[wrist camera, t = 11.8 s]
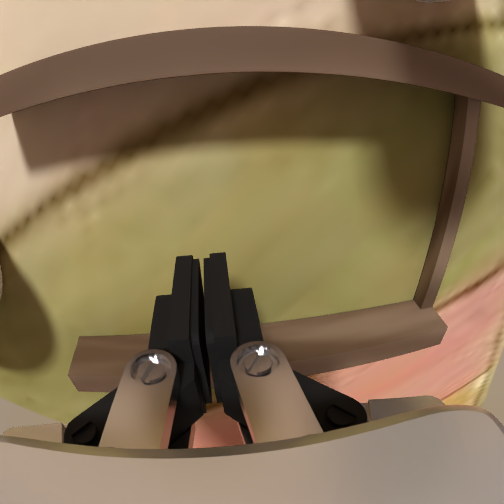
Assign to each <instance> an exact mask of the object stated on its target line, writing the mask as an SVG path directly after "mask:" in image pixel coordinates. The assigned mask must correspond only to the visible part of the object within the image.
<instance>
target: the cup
mask: <svg viewBox="0 0 504 504" xmlns="http://www.w3.org/2000/svg"><path fill="white" fill-rule="evenodd" d="M415 1H420V2H428V3H433V2H442V1H451V0H415Z"/></svg>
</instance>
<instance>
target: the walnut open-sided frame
mask: <svg viewBox="0 0 504 504" xmlns="http://www.w3.org/2000/svg"><path fill="white" fill-rule="evenodd" d="M235 72H299V73H319V74H333V75H345V76H355V77H363V78H372V79H379V80H386V81H393V82H399V83H405V84H411V85H416V86H421V87H426V88H431V89H436V90H440V91H445V92H449V93H453V94H456V97H455V109H454V119H453V128H452V136H451V143H450V150H449V157H448V163H447V169H446V175H445V181H444V186H443V191H442V196H441V201H440V205H439V210H438V214H437V219H436V223H435V227H434V231H433V235H432V239H431V243H430V247H429V250H428V254H427V258H426V261H425V265H424V268H423V271H422V275H421V278H420V281H419V284H418V288H417V291H416V294H415V297H414V300H411V301H405V302H400V303H395V304H390V305H384V306H379V307H373V308H367V309H362V310H356V311H350V312H344V313H337V314H331V315H324V316H317V317H311V318H303V319H296V320H289V321H281V322H273V323H265V324H260V327H261V331H262V336H263V340H264V341H265V342H269V343H272V344H274V345H276V346H277V347H278V348H280V349H281V351H282V352H283V353H284V355H285V357H286V359H287V361H288V363H289V365H290V367H291V369H292V370H294V371H296V372H298V373H300V374H302V375H304V376H308V375H314V374H319V373H324V372H330V371H335V370H340V369H344V368H349V367H354V366H358V365H363V364H367V363H371V362H376V361H380V360H384V359H388V358H392V357H396V356H399V355H403V354H407V353H411V352H414V351H418V350H421V349H425V348H428V347H431V346H435V345H438V344H440V343H441V341H442V338H443V336H444V334H445V332H446V330H447V328H448V327H447V325H446V324H445V323H444V321H443V320H442V319H441V317H440V316H439V315H438V313H437V312H436V311H435V310H434V308H433V304H434V301H435V299H436V296H437V293H438V290H439V288H440V285H441V282H442V279H443V276H444V273H445V270H446V267H447V264H448V261H449V258H450V254H451V251H452V248H453V245H454V241H455V238H456V234H457V230H458V227H459V223H460V219H461V215H462V211H463V207H464V203H465V198H466V194H467V189H468V185H469V180H470V175H471V169H472V164H473V158H474V152H475V146H476V139H477V132H478V124H479V115H480V105H481V101H484V102H487V103H491V104H494V105H497V106H500V107H504V76H503V75H500V74H498V73H495V72H493V71H490V70H488V69H485V68H483V67H480V66H477V65H475V64H472V63H469V62H466V61H463V60H460V59H457V58H454V57H451V56H448V55H444V54H441V53H438V52H434V51H431V50H427V49H423V48H420V47H416V46H412V45H407V44H403V43H399V42H394V41H390V40H385V39H380V38H374V37H369V36H363V35H357V34H350V33H343V32H335V31H327V30H317V29H306V28H291V27H267V26H235V27H210V28H196V29H185V30H175V31H167V32H159V33H152V34H145V35H139V36H133V37H128V38H122V39H117V40H112V41H108V42H103V43H99V44H94V45H90V46H86V47H82V48H79V49H75V50H71V51H68V52H64V53H61V54H58V55H54V56H51V57H48V58H45V59H42V60H39V61H36V62H33V63H30V64H28V65H25V66H22V67H19V68H17V69H14V70H12V71H9V72H7V73H4V74H2V75H0V117H2V116H4V115H7V114H10V113H13V112H16V111H19V110H22V109H25V108H28V107H32V106H35V105H38V104H41V103H45V102H48V101H52V100H56V99H59V98H63V97H67V96H71V95H75V94H79V93H83V92H88V91H92V90H97V89H102V88H107V87H112V86H117V85H122V84H128V83H134V82H141V81H147V80H154V79H162V78H170V77H179V76H189V75H201V74H215V73H235ZM149 339H150V334H138V335H117V336H87V337H79V340H78V343H77V346H76V349H75V353H74V356H73V359H72V363H71V366H70V369H69V373H68V376H69V378H70V379H71V381H72V382H73V384H74V385H75V387H76V389H77V390H78V391H85V392H111V391H113V390H114V389H115V388H117V387H118V386H119V383H120V380H121V378H122V375H123V372H124V369H125V367H126V365H127V363H128V361H129V360H130V359H131V358H132V357H133V356H134V355H136V354H137V353H139V352H141V351H145V350H148V346H149ZM210 377H211V388H214V383H213V378H212V373H211V367H210Z"/></svg>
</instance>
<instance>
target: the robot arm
mask: <svg viewBox="0 0 504 504" xmlns="http://www.w3.org/2000/svg"><path fill="white" fill-rule="evenodd" d="M210 367H211V373H212V378H213V383H214V389H215V394H216V399H217V403H221V402H223V407H224V412H225V414H227V415H228V416H230V417H231V418H233V419H234V420H236V421H237V423H238V428H239V431H240V434H241V437H242V440H243V443H244V445H236V446H225V447H212V448H193V442H194V435H195V422H196V421H197V420H198V419H199V418H200V417H201V416H203V413H206V404H208V403H212V393H211V377H210ZM0 504H504V426H503V425H502V423H501V422H500V421H499V420H498V419H497V418H496V417H495V416H494V415H493V414H491V413H490V412H488V411H487V410H485V409H482V408H480V407H475V406H468V405H445V404H444V403H443V402H442V401H441V400H440V399H438V398H436V397H433V396H416V397H405V398H391V399H373V400H369V401H368V403H359V402H358V401H356V400H355V399H353V398H351V397H349V396H347V395H344V394H342V393H340V392H338V391H336V390H334V389H331V388H329V387H327V386H325V385H323V384H321V383H319V382H317V381H315V380H313V379H310V378H308V377H306V376H304V375H302V374H300V373H298V372H296V371H294V370H292V369H291V367H290V365H289V363H288V361H287V359H286V357H285V355H284V353H283V352H282V351H281V349H280V348H278V347H277V346H276V345H274V344H272V343H269V342H265V341H264V340H263V336H262V331H261V327H260V322H259V318H258V313H257V309H256V304H255V300H254V295H253V291H252V288H243V289H232V290H230V285H229V277H228V269H227V261H226V253H225V252H223V253H212V254H210V258H204V293H203V286H202V278H201V270H200V262H199V259H193V256H192V255H189V256H177V257H176V263H175V271H174V279H173V288H172V295H160V296H157V297H156V300H155V306H154V312H153V319H152V325H151V332H150V339H149V346H148V350H145V351H141V352H139V353H137V354H136V355H134V356H133V357H132V358H131V359H130V360H129V361H128V363H127V365H126V367H125V369H124V372H123V375H122V378H121V380H120V383H119V386H118V387H117V388H115V389H114V390H113V391H111V392H110V393H109V394H107V395H106V396H105V397H103V398H102V399H100V400H99V401H98V402H96V403H95V404H93V405H92V406H91V407H89V408H88V409H87V410H85V411H84V412H82V413H81V414H80V415H78V416H77V417H75V418H74V419H73V420H72V421H71V422H70V423H69V424H68V425H63V424H62V423H54V424H44V425H33V426H22V427H12V428H9V429H8V430H6V431H5V432H3V434H2V435H0Z"/></svg>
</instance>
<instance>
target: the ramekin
mask: <svg viewBox="0 0 504 504" xmlns="http://www.w3.org/2000/svg"><path fill="white" fill-rule="evenodd" d="M2 286H3V282H2V272H1V266H0V299H1V296H2Z"/></svg>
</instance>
